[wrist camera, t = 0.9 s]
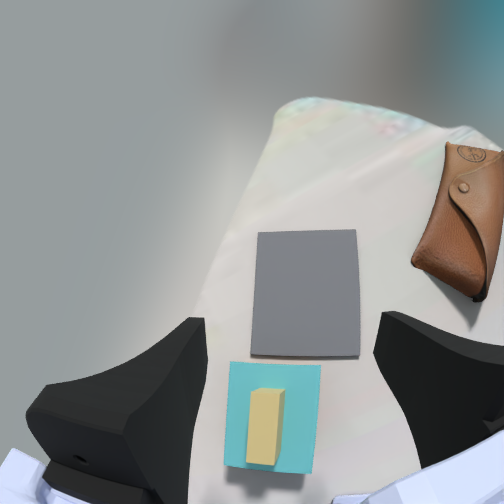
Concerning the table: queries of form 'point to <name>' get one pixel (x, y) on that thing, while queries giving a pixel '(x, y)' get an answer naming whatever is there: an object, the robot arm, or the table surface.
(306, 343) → the mat
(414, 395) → the robot arm
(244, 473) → the table surface
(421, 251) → the sunglasses case
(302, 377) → the lid
